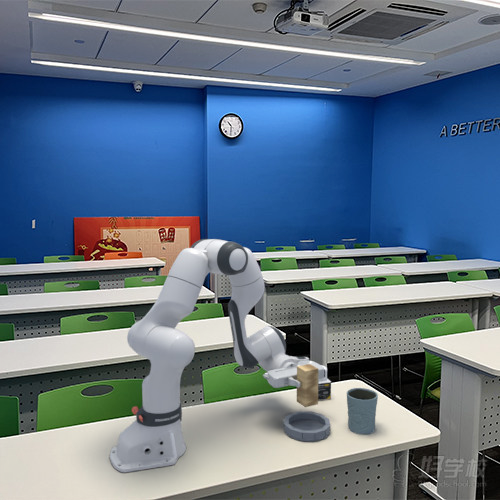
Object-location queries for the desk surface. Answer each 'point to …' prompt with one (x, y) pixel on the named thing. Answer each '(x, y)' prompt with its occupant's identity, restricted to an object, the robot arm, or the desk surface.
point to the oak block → (307, 385)
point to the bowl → (307, 426)
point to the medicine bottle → (324, 387)
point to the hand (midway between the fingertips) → (309, 383)
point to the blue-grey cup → (361, 410)
